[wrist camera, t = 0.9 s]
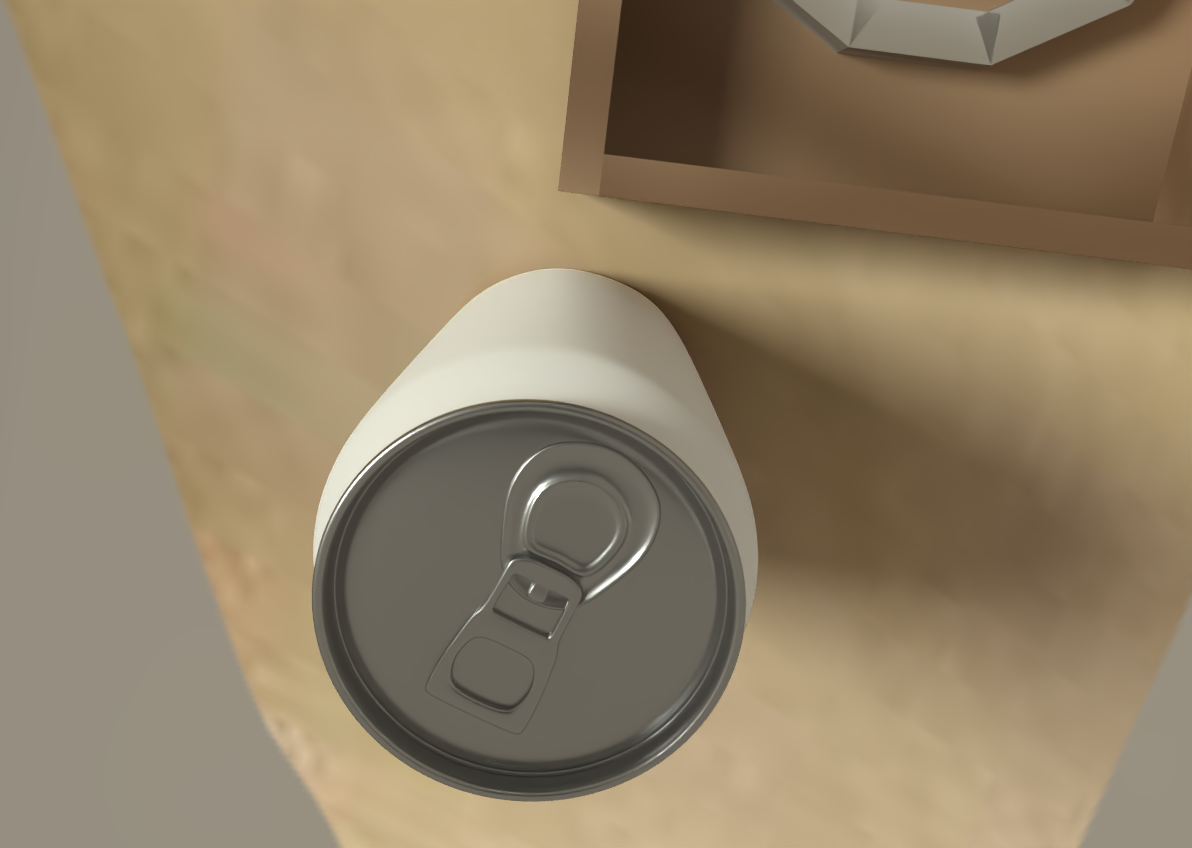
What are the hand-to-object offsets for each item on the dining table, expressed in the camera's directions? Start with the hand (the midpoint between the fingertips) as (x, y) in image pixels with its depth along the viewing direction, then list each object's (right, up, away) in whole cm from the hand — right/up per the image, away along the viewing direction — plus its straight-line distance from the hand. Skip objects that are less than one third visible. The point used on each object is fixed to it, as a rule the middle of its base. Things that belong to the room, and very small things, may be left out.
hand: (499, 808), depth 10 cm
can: (0, +4, +16) cm, 16 cm away
